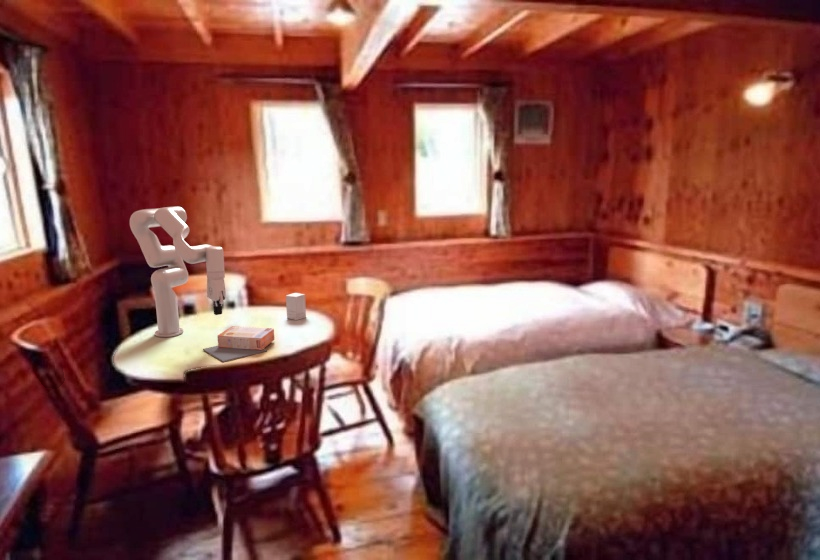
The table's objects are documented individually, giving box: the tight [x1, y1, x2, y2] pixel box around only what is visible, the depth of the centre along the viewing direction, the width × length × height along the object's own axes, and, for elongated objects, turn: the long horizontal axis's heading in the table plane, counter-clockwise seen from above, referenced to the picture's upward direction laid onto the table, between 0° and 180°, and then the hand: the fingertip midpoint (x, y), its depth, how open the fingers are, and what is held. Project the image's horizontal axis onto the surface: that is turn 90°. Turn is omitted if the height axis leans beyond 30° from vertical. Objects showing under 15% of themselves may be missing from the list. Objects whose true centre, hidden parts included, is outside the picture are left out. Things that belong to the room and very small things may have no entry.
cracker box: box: [217, 325, 275, 350], centre depth 252 cm, size 14×6×21 cm
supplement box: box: [285, 292, 307, 321], centre depth 296 cm, size 7×7×13 cm
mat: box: [202, 345, 268, 363], centre depth 246 cm, size 20×20×1 cm
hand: (218, 314), depth 253 cm, fingers closed
